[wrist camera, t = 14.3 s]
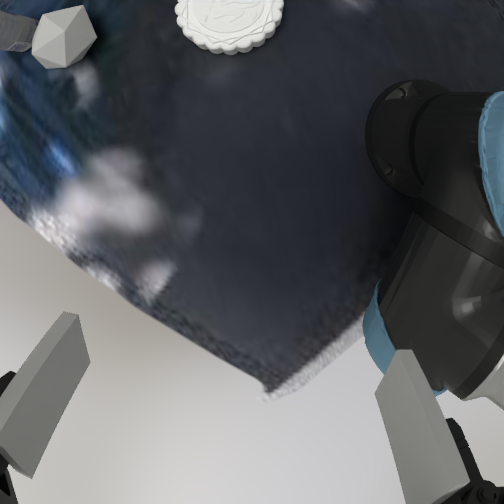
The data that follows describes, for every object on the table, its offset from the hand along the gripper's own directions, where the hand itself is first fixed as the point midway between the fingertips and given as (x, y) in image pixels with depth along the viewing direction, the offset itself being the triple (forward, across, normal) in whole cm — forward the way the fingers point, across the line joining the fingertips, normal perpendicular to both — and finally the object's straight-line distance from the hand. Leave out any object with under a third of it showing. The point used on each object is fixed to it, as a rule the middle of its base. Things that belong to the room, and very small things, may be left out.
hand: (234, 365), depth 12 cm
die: (+29, +25, -19) cm, 43 cm away
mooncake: (+29, +5, -22) cm, 37 cm away
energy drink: (+29, +35, -22) cm, 50 cm away
